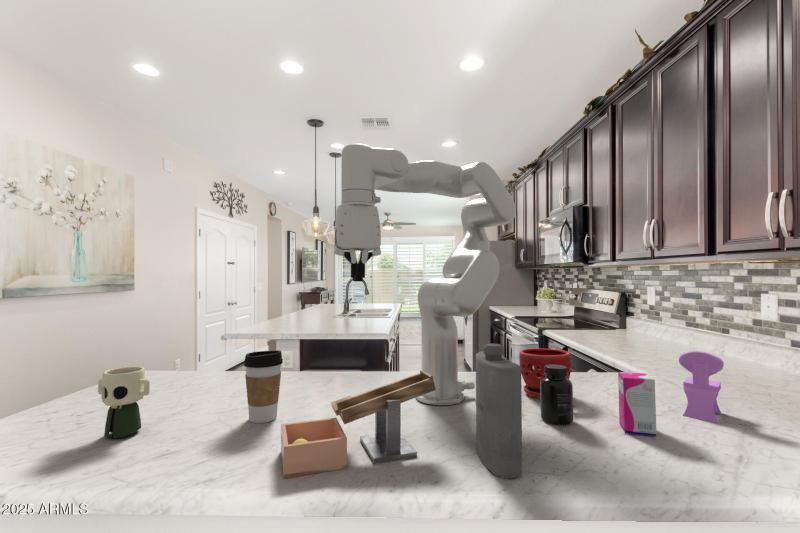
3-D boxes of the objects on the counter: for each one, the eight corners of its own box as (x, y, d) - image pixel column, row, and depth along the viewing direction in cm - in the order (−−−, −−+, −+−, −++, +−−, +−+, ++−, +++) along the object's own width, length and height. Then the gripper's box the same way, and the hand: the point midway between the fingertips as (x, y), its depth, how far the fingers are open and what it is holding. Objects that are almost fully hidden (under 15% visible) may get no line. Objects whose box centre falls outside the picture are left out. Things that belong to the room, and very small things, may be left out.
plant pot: (574, 393, 108) (574, 349, 108) (566, 406, 97) (565, 357, 97) (526, 386, 115) (526, 345, 115) (513, 397, 104) (513, 352, 104)
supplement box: (648, 426, 84) (648, 372, 84) (657, 437, 78) (656, 379, 79) (618, 423, 86) (617, 370, 86) (624, 433, 80) (623, 377, 80)
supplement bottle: (573, 417, 89) (573, 364, 89) (573, 428, 83) (572, 371, 83) (541, 413, 92) (541, 362, 92) (538, 423, 86) (538, 368, 86)
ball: (305, 432, 70) (287, 440, 69) (307, 439, 67) (288, 448, 66) (311, 448, 70) (293, 457, 69) (313, 456, 67) (295, 465, 66)
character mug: (82, 440, 77) (83, 374, 77) (112, 426, 84) (113, 365, 84) (135, 442, 76) (136, 375, 76) (160, 428, 83) (161, 366, 83)
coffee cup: (270, 426, 84) (270, 356, 84) (235, 423, 86) (235, 354, 86) (289, 413, 92) (289, 349, 92) (256, 410, 94) (257, 347, 94)
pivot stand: (398, 435, 79) (398, 385, 80) (416, 456, 70) (416, 400, 70) (360, 440, 77) (360, 389, 77) (373, 463, 67) (373, 405, 68)
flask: (470, 440, 77) (469, 338, 77) (499, 439, 77) (499, 338, 78) (489, 480, 62) (489, 353, 62) (526, 479, 62) (525, 352, 63)
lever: (416, 378, 84) (413, 364, 84) (436, 390, 74) (432, 375, 74) (332, 408, 78) (328, 393, 77) (342, 426, 68) (337, 410, 68)
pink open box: (336, 443, 75) (336, 417, 75) (346, 468, 66) (346, 438, 66) (280, 451, 72) (281, 424, 72) (283, 478, 62) (283, 446, 62)
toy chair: (726, 413, 92) (725, 349, 92) (723, 424, 85) (722, 355, 86) (683, 405, 98) (682, 345, 98) (677, 414, 91) (676, 350, 91)
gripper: (384, 205, 95) (384, 281, 95) (322, 201, 90) (322, 281, 90) (394, 199, 88) (394, 281, 88) (327, 195, 83) (327, 281, 83)
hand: (357, 281), depth 89 cm, fingers closed
